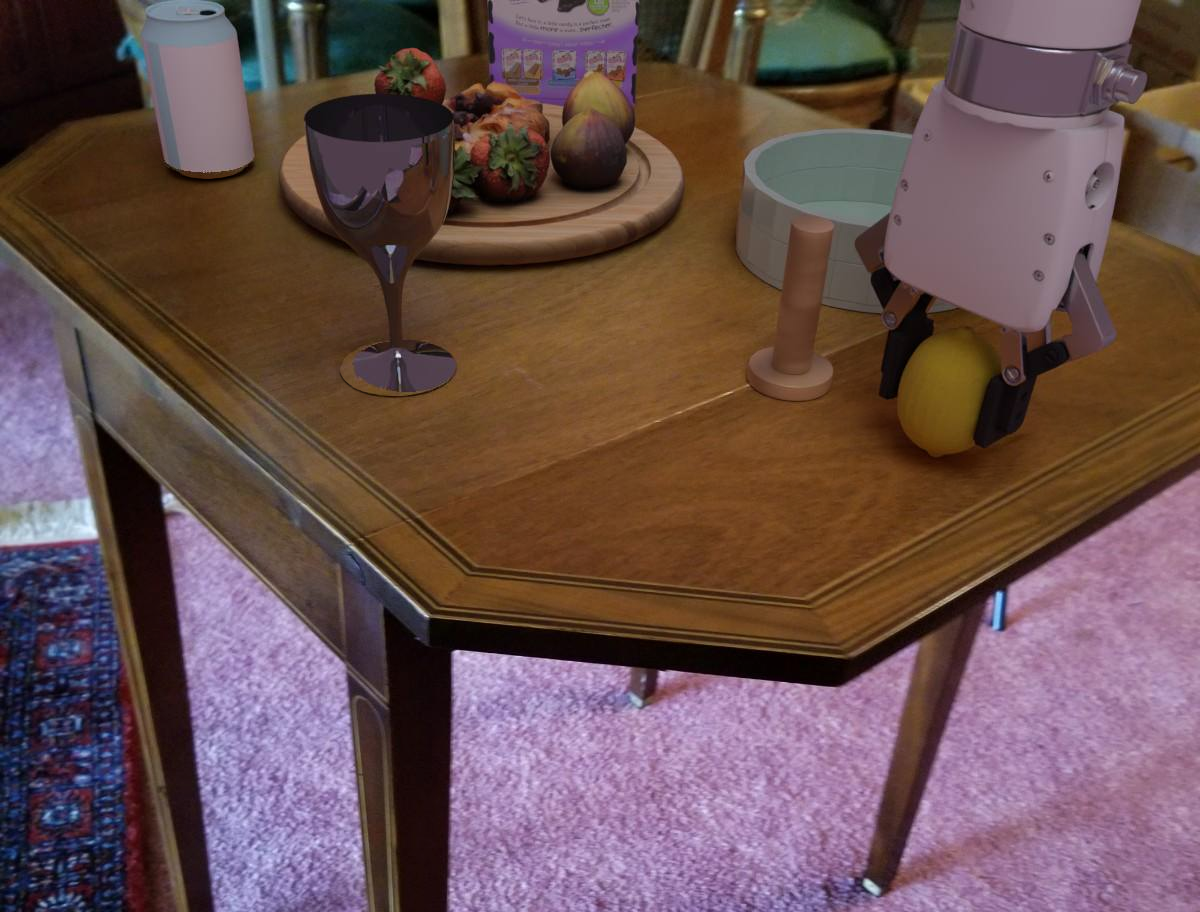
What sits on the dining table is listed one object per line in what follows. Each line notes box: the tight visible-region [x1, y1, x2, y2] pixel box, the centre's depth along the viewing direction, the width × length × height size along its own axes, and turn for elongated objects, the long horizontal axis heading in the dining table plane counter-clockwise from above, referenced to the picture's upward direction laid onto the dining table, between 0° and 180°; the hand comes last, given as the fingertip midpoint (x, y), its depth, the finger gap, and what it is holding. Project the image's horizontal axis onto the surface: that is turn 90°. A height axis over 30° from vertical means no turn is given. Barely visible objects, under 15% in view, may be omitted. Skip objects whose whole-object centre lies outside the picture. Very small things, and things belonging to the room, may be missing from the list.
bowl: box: [735, 128, 960, 314], centre depth 88 cm, size 20×20×6 cm
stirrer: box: [746, 216, 834, 402], centre depth 71 cm, size 5×5×10 cm
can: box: [139, 0, 255, 173], centre depth 95 cm, size 7×7×12 cm
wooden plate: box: [278, 47, 686, 266], centre depth 94 cm, size 32×32×8 cm
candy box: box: [486, 0, 640, 109], centre depth 110 cm, size 14×6×16 cm, turn 91°
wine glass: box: [303, 93, 458, 392], centre depth 69 cm, size 8×8×15 cm
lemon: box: [896, 324, 1002, 458], centre depth 66 cm, size 6×6×8 cm
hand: (945, 411), depth 67 cm, fingers closed on lemon, 5 cm apart
